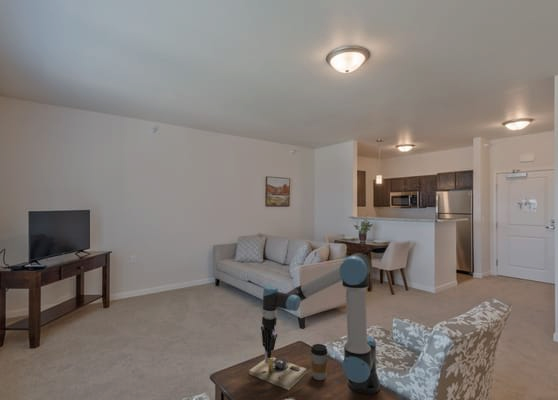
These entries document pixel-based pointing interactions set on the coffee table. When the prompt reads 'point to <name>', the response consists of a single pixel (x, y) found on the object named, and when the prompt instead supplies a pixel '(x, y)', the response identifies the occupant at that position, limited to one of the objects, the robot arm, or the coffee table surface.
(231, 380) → the coffee table surface
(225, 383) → the coffee table surface
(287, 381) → the lever board
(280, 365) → the grey round handled piece
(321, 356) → the coffee cup
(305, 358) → the coffee table surface
